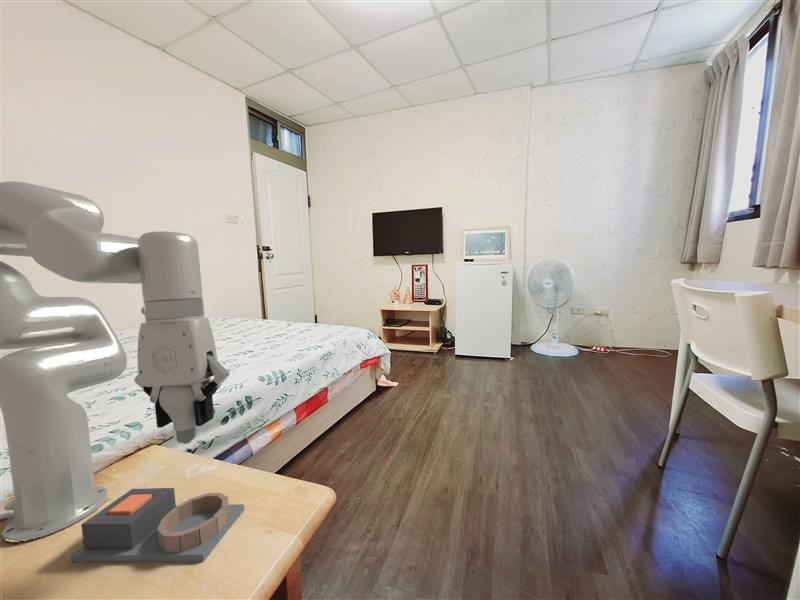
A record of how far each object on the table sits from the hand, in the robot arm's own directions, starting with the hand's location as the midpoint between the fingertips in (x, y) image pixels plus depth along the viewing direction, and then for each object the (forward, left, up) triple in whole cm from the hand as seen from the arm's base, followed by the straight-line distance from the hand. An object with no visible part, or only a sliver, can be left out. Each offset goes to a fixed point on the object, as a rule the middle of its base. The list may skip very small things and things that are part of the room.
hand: (186, 421), depth 48 cm
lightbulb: (0, 0, -4) cm, 4 cm away
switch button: (-11, 0, -17) cm, 20 cm away
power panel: (-6, 0, -19) cm, 19 cm away
